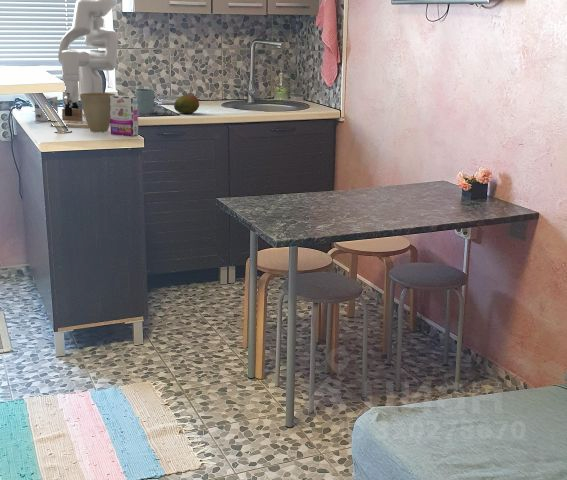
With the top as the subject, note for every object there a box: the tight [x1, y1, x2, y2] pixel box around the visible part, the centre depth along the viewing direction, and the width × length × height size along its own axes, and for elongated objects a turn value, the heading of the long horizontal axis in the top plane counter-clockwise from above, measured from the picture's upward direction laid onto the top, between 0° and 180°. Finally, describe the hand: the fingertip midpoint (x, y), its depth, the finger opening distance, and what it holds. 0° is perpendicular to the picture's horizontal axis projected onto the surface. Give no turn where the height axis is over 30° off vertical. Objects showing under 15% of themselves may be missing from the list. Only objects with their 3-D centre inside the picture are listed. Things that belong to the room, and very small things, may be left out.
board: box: [50, 119, 89, 129], centre depth 364 cm, size 13×18×1 cm
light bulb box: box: [34, 95, 59, 122], centre depth 378 cm, size 11×7×11 cm, turn 168°
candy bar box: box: [109, 94, 139, 137], centre depth 340 cm, size 11×5×16 cm, turn 69°
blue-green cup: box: [134, 88, 156, 115], centre depth 417 cm, size 10×10×12 cm
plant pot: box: [79, 92, 116, 133], centre depth 348 cm, size 15×15×16 cm
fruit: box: [173, 93, 200, 115], centre depth 421 cm, size 12×13×10 cm
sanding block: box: [61, 107, 84, 121], centre depth 376 cm, size 5×8×6 cm, turn 87°
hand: (71, 115), depth 375 cm, fingers open, 9 cm apart
